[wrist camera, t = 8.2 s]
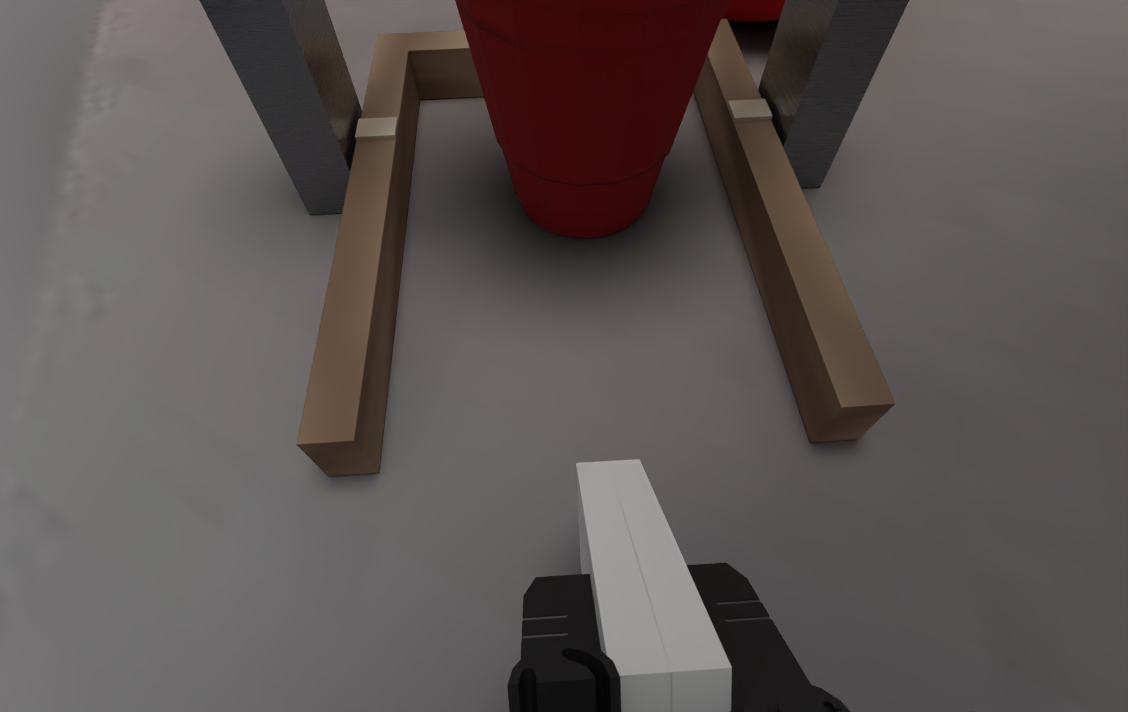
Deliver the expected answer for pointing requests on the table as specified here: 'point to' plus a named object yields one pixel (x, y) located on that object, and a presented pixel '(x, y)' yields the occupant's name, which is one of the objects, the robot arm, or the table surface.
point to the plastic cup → (587, 98)
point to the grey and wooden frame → (446, 70)
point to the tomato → (754, 10)
